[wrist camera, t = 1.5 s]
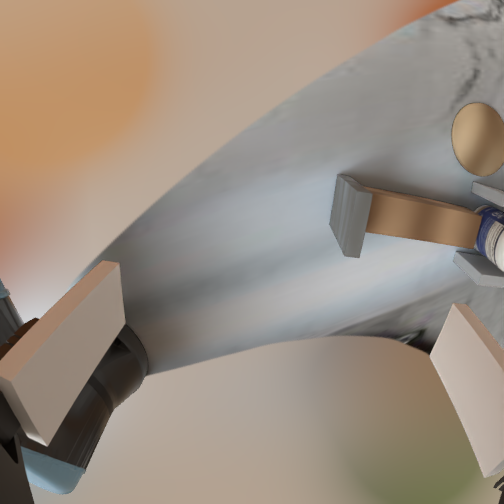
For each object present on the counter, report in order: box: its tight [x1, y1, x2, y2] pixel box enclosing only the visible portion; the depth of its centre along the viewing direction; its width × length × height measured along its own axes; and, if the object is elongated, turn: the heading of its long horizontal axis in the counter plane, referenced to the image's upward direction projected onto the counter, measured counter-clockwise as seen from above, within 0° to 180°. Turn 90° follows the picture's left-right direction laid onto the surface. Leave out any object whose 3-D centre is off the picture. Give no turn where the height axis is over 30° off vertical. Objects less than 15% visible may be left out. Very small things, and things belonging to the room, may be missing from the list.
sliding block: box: [329, 174, 482, 258], centre depth 26 cm, size 15×5×8 cm, turn 85°
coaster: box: [451, 103, 504, 176], centre depth 26 cm, size 8×8×1 cm
